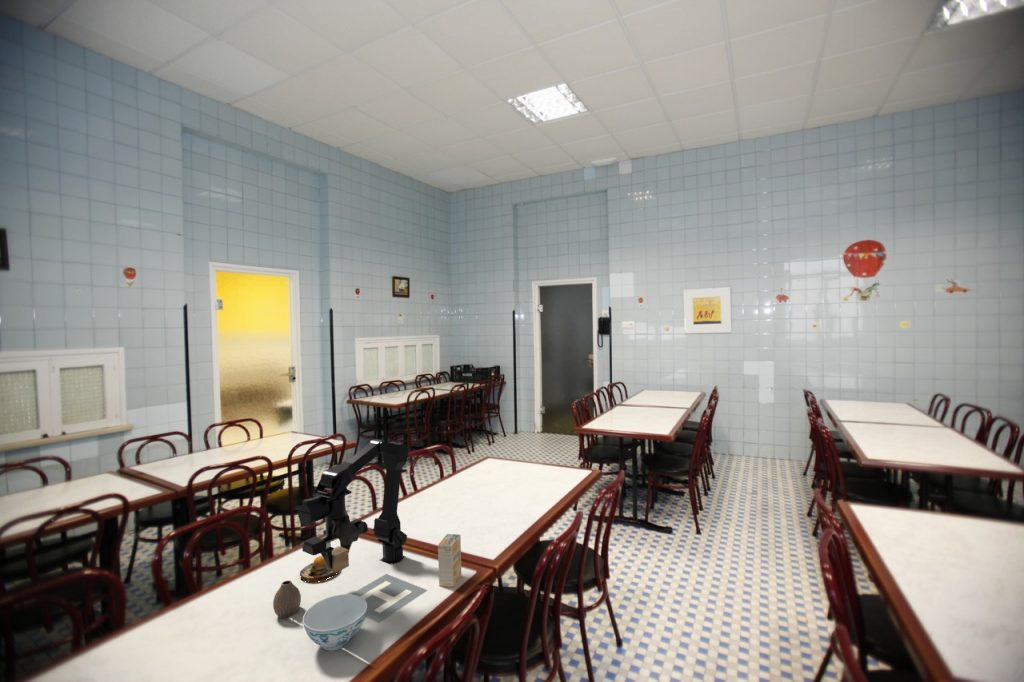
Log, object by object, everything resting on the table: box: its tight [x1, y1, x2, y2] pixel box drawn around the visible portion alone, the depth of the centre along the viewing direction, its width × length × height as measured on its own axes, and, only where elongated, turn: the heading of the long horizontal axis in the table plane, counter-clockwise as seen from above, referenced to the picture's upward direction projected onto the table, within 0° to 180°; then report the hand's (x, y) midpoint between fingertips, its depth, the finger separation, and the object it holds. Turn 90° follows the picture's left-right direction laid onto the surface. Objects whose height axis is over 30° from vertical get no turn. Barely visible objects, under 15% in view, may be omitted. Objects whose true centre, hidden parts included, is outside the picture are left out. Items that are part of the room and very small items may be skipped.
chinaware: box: [302, 593, 367, 652], centre depth 116 cm, size 15×15×8 cm
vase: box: [272, 580, 302, 619], centre depth 128 cm, size 7×7×9 cm
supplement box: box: [437, 533, 462, 588], centre depth 143 cm, size 8×5×13 cm, turn 168°
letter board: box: [351, 573, 428, 624], centre depth 135 cm, size 18×18×1 cm
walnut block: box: [326, 545, 350, 573], centre depth 138 cm, size 4×4×5 cm
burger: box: [299, 555, 337, 583], centre depth 150 cm, size 12×12×8 cm
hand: (337, 564), depth 138 cm, fingers closed on walnut block, 4 cm apart
